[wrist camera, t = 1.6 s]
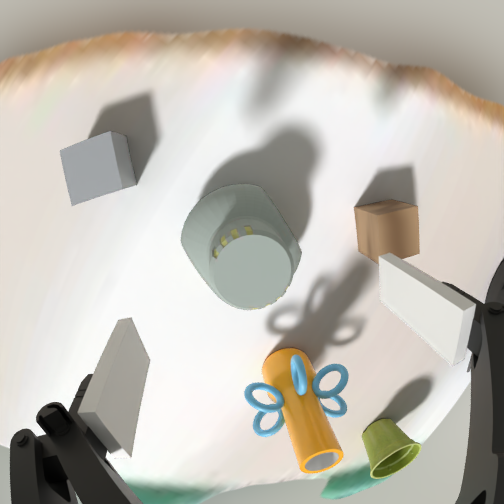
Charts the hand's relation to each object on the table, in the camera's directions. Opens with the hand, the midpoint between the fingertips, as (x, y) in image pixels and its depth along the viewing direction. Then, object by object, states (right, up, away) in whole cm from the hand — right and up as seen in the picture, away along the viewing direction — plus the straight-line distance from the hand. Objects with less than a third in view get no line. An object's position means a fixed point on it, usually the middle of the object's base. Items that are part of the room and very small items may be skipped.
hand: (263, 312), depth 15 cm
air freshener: (-2, +4, +15) cm, 16 cm away
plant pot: (+21, -28, +28) cm, 45 cm away
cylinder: (+3, -11, +21) cm, 24 cm away
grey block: (-15, +11, +11) cm, 22 cm away
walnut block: (+13, +6, +17) cm, 22 cm away
